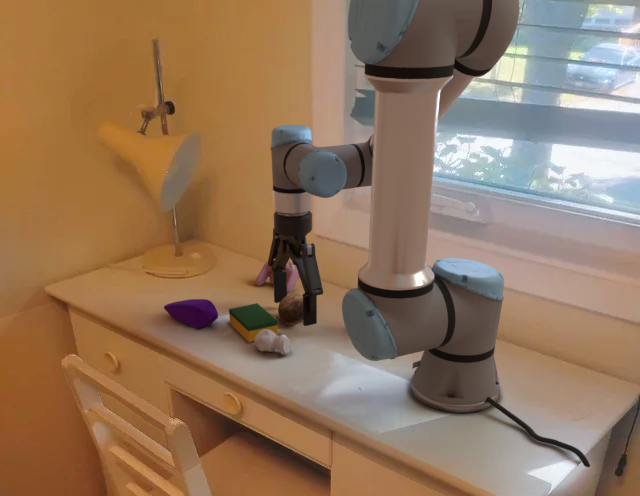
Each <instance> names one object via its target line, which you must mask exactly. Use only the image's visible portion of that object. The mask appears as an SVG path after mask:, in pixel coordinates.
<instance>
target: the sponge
mask: <svg viewBox="0 0 640 496" xmlns="http://www.w3.org/2000/svg"><path fill="white" fill-rule="evenodd" d="M228 316H229V324H230V326H231V327H232V328H234V330H235V331H237V332H238V334H240V335H241V336H242V337H243V338H244V339H245V340H246V341H247V342H248V343H253V342H255V336H256V335H257V333H258V332H259V331H261V330H264V329H268V330H271V331H273V332H274V333H275V334H276V335H277V336H279V320H278V319H277V318H275V317H274V316H273V315H272V314H271V313H270V312H269V311H267V310H266V309H265V308H264V307H263V306H261V305H260V304H259V303H256V302H255V303H252V304H247V305H241V306H237V307H232V308H228Z"/></svg>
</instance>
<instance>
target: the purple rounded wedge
mask: <svg viewBox="0 0 640 496" xmlns="http://www.w3.org/2000/svg"><path fill="white" fill-rule="evenodd" d="M163 309H164V310H165V312H166V313H167V314H168V315H169V316H170V317H172V318H173V319H175V320H176V321H178V322H180V323H182V324H184V325H186V326H188V327H193V328H197V329H201V328H205V327H208V326H209V325H211V324H212V323H214V322H215V321H217V320H218V319H219V312H218V311H217V308H216V306H215V305H214V303H213V302H212V301H211V300H209V299H205V298H201V299H200V298H198V299H197V298H194V299H193V298H192V299H191V298H190V299H184V300H179V301H174V302H171V303H168V304H165V305H164V306H163Z"/></svg>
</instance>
